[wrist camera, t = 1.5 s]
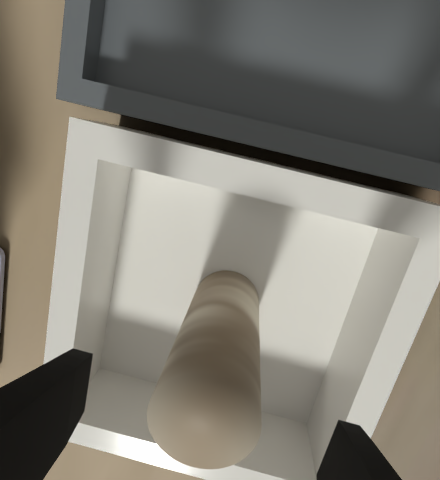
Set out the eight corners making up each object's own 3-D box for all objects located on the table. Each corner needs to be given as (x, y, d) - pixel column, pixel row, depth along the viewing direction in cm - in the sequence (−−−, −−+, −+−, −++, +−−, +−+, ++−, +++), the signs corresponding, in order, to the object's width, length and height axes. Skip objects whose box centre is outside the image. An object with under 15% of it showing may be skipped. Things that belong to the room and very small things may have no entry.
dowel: (189, 320, 18) (138, 452, 10) (202, 263, 17) (157, 359, 9) (249, 336, 18) (245, 481, 10) (266, 279, 17) (275, 390, 9)
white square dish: (83, 371, 20) (36, 432, 16) (118, 125, 16) (69, 116, 12) (318, 435, 20) (336, 515, 15) (410, 195, 16) (469, 213, 12)
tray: (79, 104, 16) (56, 98, 14) (109, -160, 14) (84, -211, 12) (458, 195, 16) (487, 202, 14) (568, -63, 13) (622, -100, 11)
